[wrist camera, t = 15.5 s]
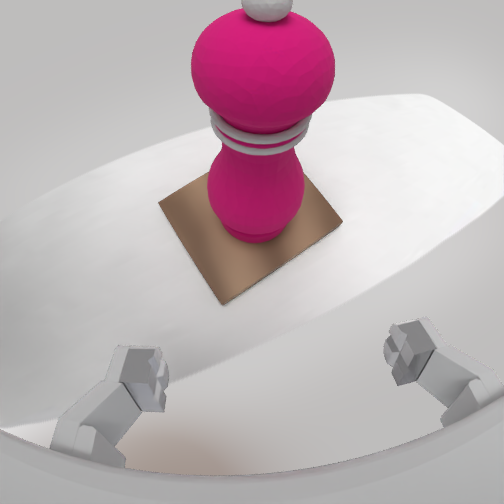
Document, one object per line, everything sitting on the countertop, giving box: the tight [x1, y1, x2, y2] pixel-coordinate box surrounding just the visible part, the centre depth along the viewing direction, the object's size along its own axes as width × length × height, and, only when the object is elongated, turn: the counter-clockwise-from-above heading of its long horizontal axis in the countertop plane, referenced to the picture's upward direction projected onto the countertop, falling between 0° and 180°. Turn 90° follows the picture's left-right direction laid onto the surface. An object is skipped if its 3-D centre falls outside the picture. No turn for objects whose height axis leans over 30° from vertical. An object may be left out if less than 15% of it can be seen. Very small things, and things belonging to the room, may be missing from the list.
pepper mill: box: [191, 0, 335, 243], centre depth 16 cm, size 7×7×20 cm
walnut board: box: [158, 172, 343, 305], centre depth 26 cm, size 13×11×1 cm
